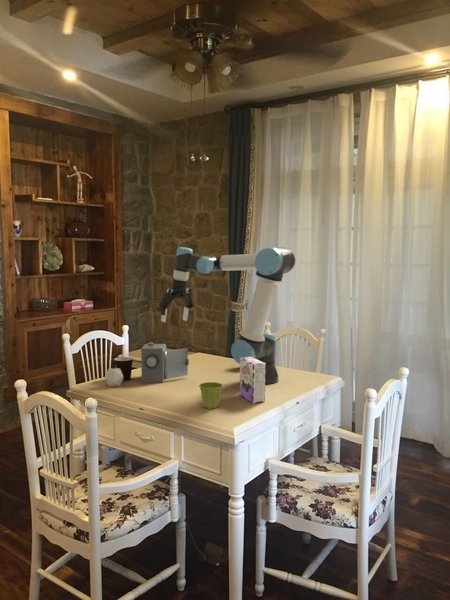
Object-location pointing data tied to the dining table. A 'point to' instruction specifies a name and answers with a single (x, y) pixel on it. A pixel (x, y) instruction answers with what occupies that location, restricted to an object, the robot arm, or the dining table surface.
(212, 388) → the plant pot
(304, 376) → the dining table surface
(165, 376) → the side door
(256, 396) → the candy box
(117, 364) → the coffee mug
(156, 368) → the grey inset panel box
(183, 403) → the dining table surface
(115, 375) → the die
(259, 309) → the robot arm
